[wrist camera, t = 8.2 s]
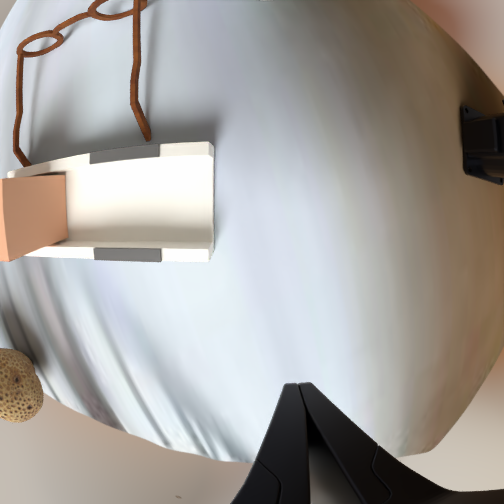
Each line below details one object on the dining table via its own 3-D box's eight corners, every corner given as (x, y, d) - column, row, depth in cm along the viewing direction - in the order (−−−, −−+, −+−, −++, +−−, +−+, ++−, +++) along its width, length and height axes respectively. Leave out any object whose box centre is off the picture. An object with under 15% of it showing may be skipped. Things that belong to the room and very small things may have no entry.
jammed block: (65, 175, 17) (2, 178, 10) (68, 237, 18) (9, 261, 11) (27, 182, 17) (-30, 189, 10) (31, 238, 18) (-24, 258, 11)
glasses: (155, 7, 14) (136, -24, 9) (154, 141, 17) (124, 130, 12) (39, 57, 14) (10, 44, 9) (31, 177, 17) (-6, 180, 13)
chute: (214, 147, 17) (208, 140, 14) (213, 251, 19) (207, 263, 16) (25, 171, 17) (5, 172, 14) (30, 248, 19) (11, 256, 16)
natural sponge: (48, 343, 21) (-4, 396, 12) (66, 399, 23) (31, 451, 14) (1, 321, 21) (-47, 359, 11) (20, 376, 23) (-16, 416, 13)
